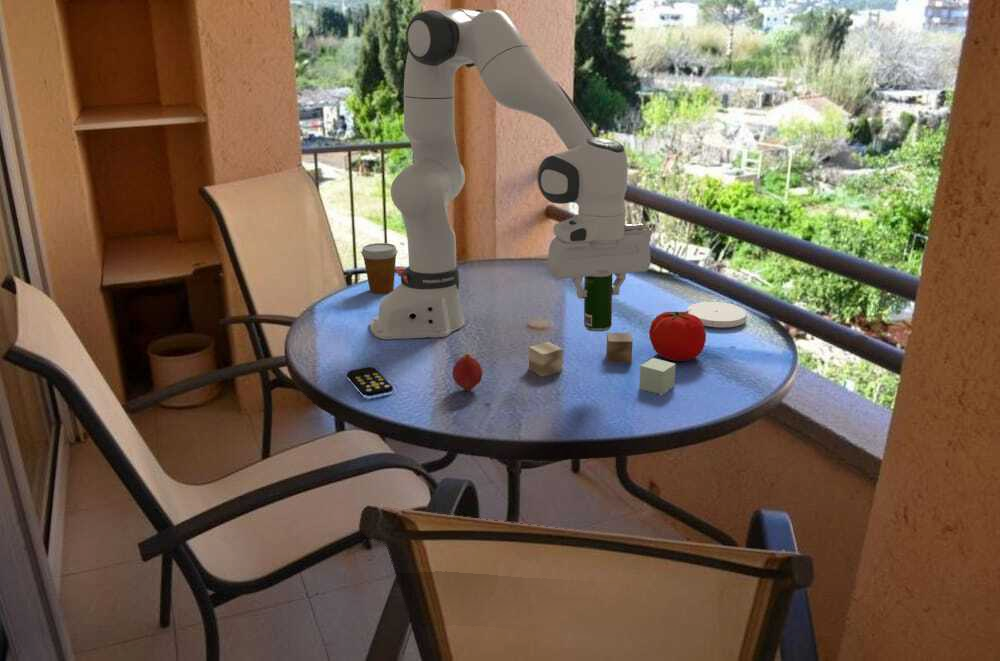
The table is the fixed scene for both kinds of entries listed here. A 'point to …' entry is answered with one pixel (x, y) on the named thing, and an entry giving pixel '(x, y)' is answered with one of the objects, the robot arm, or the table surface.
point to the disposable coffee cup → (380, 266)
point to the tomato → (677, 335)
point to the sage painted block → (657, 375)
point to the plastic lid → (718, 314)
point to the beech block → (545, 358)
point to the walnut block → (619, 348)
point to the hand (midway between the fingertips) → (597, 296)
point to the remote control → (369, 381)
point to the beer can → (598, 302)
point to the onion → (467, 372)
